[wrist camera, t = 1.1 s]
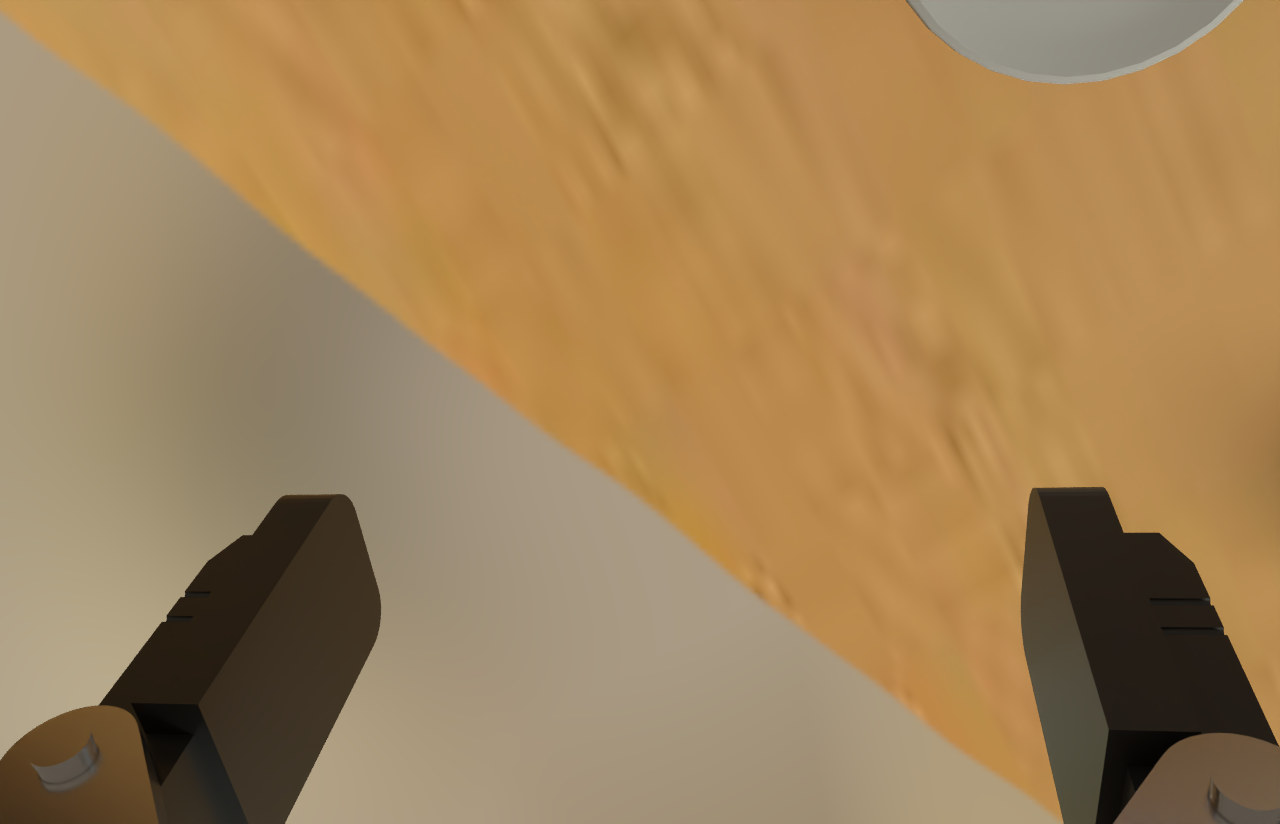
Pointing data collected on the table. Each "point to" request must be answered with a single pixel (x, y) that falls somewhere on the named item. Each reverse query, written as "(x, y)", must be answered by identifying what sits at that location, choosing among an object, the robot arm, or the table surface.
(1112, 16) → the canned food
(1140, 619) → the robot arm
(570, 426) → the table surface
